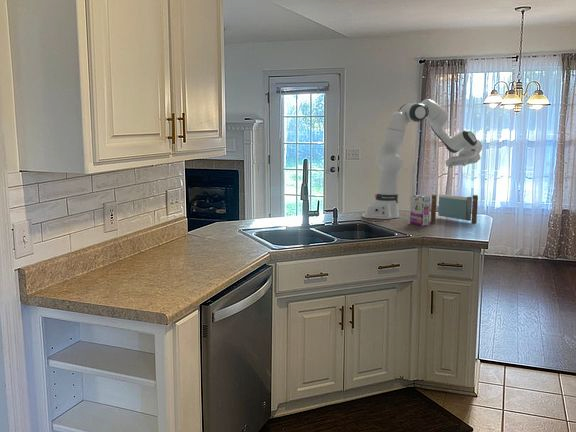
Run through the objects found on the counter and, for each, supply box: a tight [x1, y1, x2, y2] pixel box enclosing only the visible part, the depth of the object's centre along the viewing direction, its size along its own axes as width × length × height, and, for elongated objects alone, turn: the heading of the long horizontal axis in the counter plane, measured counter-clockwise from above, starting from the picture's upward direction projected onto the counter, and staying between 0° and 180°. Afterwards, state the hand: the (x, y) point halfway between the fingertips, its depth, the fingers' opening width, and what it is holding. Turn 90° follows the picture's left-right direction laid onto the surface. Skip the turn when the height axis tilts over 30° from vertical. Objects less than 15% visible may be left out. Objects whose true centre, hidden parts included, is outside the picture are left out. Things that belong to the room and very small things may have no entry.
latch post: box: [430, 194, 437, 224], centre depth 320 cm, size 2×2×16 cm
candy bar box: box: [409, 194, 431, 227], centre depth 314 cm, size 11×5×16 cm, turn 25°
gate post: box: [471, 194, 479, 225], centre depth 318 cm, size 2×3×16 cm
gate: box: [437, 193, 473, 222], centre depth 327 cm, size 23×2×14 cm, turn 35°
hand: (456, 165), depth 334 cm, fingers open, 8 cm apart
